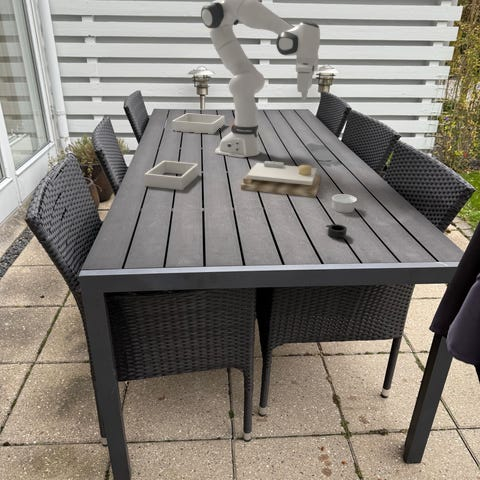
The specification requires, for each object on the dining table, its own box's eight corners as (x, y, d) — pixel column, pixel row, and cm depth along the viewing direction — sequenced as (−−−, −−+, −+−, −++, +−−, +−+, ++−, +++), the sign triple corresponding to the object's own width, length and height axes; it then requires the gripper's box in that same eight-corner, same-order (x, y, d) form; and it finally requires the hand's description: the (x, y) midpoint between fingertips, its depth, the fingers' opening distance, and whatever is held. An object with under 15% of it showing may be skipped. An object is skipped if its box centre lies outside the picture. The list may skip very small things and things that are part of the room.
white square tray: (172, 131, 275) (172, 120, 272) (187, 122, 296) (186, 113, 294) (212, 134, 269) (212, 124, 267) (224, 125, 291) (224, 115, 288)
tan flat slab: (240, 189, 186) (241, 180, 185) (252, 173, 206) (253, 164, 204) (315, 197, 180) (316, 187, 178) (320, 179, 199) (321, 171, 198)
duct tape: (346, 230, 154) (348, 222, 152) (350, 243, 145) (351, 235, 143) (323, 228, 154) (324, 221, 153) (325, 242, 145) (326, 233, 144)
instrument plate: (247, 178, 186) (247, 167, 184) (256, 166, 202) (257, 155, 200) (311, 185, 180) (312, 174, 178) (316, 171, 196) (317, 161, 194)
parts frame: (145, 185, 188) (144, 174, 185) (164, 171, 205) (163, 160, 203) (182, 190, 184) (181, 178, 182) (198, 175, 202) (198, 163, 199)
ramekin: (341, 215, 165) (342, 204, 163) (325, 206, 172) (327, 196, 170) (360, 211, 168) (362, 200, 166) (344, 203, 175) (346, 192, 173)
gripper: (302, 63, 199) (299, 96, 205) (295, 67, 182) (293, 103, 188) (317, 63, 198) (314, 97, 204) (311, 68, 180) (308, 104, 186)
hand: (303, 100), depth 196 cm, fingers closed
